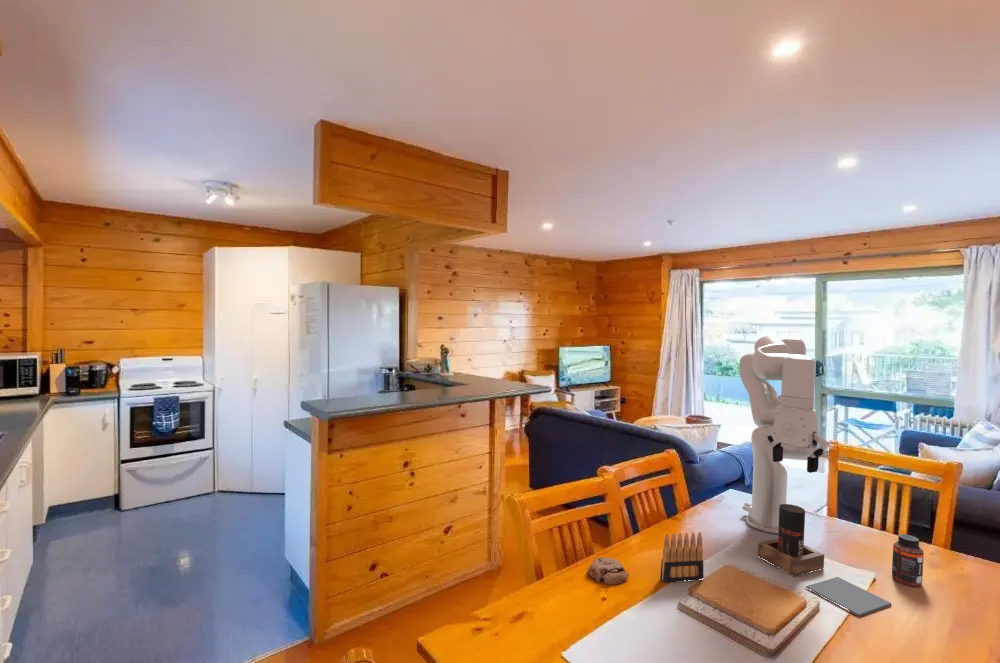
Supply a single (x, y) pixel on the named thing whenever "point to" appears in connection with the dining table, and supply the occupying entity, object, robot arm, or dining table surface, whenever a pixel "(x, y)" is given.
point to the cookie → (607, 571)
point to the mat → (849, 596)
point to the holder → (791, 558)
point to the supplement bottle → (907, 561)
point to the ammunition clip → (682, 559)
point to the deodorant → (791, 530)
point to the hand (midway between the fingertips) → (794, 466)
